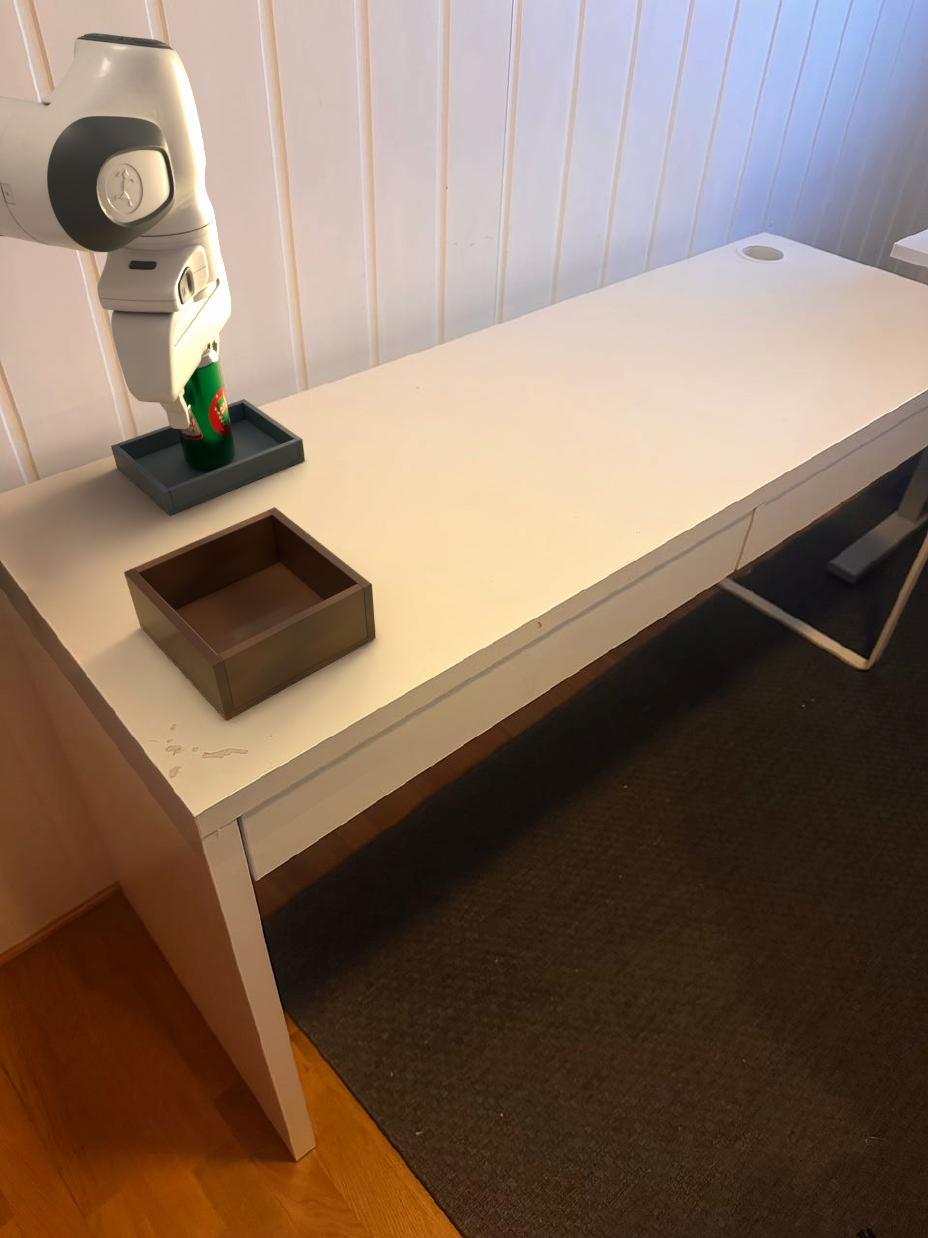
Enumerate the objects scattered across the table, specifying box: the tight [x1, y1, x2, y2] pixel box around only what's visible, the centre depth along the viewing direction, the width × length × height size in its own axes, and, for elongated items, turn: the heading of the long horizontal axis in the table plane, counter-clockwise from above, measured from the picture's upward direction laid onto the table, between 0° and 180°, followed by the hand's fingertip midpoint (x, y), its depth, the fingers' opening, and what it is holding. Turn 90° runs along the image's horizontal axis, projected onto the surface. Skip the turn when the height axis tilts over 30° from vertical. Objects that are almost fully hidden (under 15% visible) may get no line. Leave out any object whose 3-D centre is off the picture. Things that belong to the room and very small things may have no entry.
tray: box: [110, 398, 306, 516], centre depth 90 cm, size 15×11×2 cm
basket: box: [123, 506, 377, 721], centre depth 70 cm, size 14×14×6 cm
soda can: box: [178, 342, 236, 471], centre depth 87 cm, size 5×5×12 cm
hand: (196, 400), depth 86 cm, fingers open, 8 cm apart
